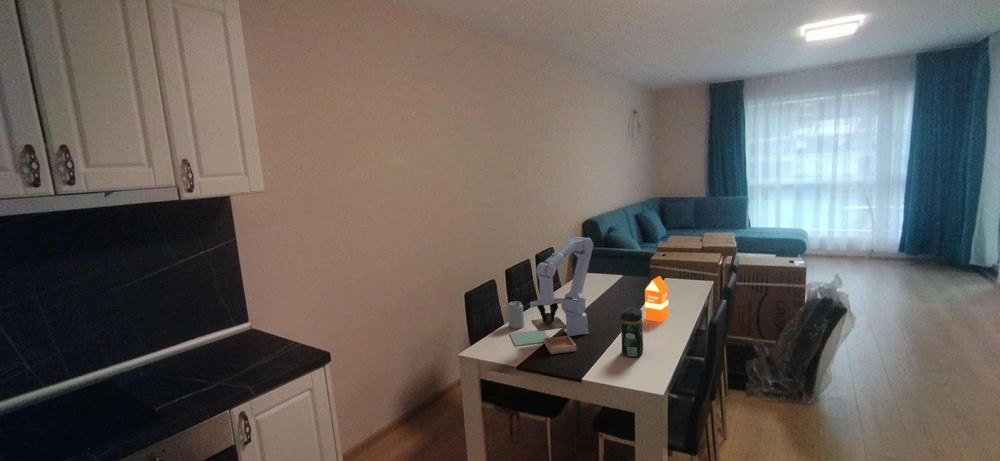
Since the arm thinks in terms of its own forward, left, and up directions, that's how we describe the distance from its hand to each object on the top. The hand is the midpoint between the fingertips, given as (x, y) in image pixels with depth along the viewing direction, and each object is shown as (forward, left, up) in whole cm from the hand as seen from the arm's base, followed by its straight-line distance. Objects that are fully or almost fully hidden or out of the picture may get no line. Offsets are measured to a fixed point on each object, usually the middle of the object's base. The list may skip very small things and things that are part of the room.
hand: (548, 321), depth 193 cm
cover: (0, 0, -2) cm, 2 cm away
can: (+10, -25, -11) cm, 29 cm away
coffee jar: (-29, +19, -11) cm, 36 cm away
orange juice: (-57, -14, -11) cm, 60 cm away
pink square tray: (-3, +5, -10) cm, 12 cm away
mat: (+7, -9, -10) cm, 16 cm away
